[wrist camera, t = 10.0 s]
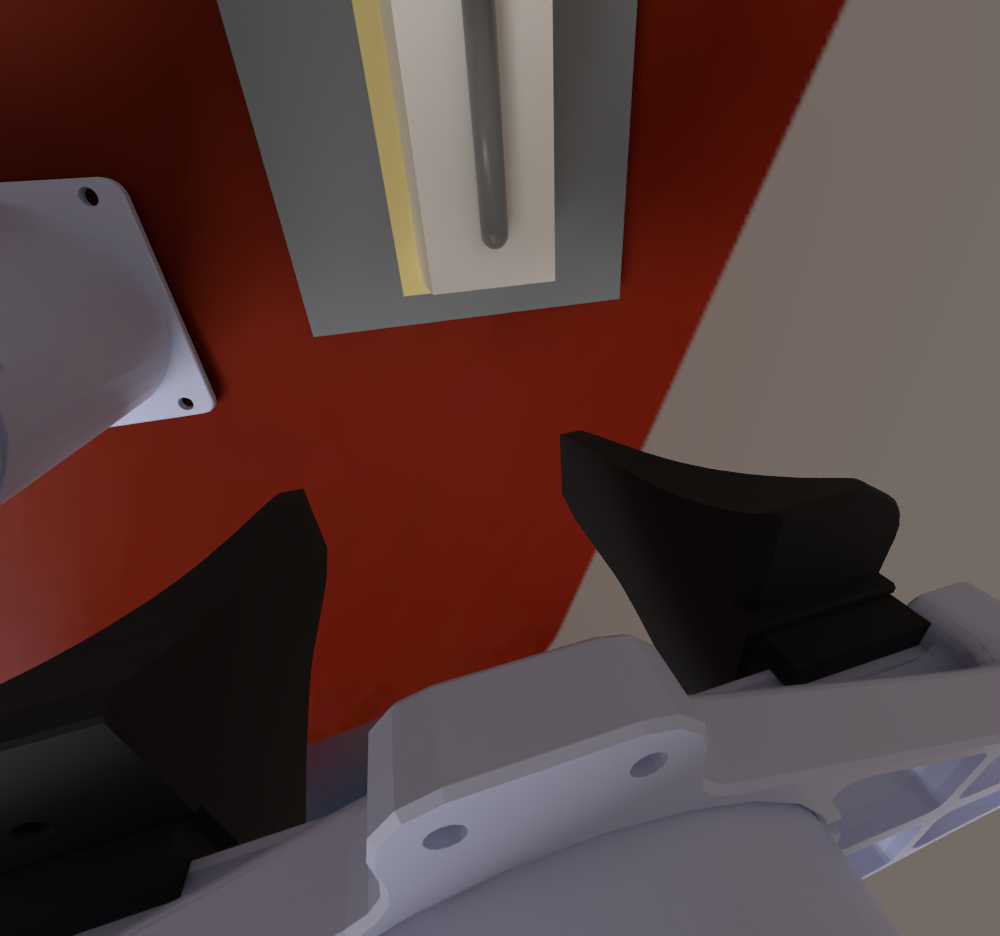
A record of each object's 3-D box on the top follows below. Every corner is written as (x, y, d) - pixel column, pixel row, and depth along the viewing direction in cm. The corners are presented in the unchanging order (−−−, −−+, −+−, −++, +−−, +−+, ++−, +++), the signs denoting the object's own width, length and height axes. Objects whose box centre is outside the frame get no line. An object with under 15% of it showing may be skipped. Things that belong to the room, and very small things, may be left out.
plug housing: (421, 282, 17) (435, 298, 12) (376, -11, 13) (375, -129, 8) (520, 271, 17) (564, 283, 13) (507, -9, 13) (564, -117, 9)
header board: (316, 332, 17) (301, 355, 14) (204, -68, 12) (134, -188, 9) (608, 296, 20) (657, 308, 16) (626, -54, 14) (703, -145, 11)
